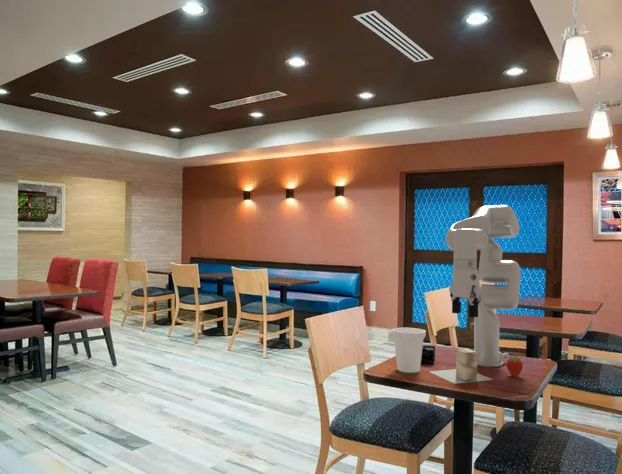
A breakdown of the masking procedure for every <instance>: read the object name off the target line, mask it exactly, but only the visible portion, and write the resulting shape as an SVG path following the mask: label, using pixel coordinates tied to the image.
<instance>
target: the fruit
mask: <svg viewBox="0 0 622 474" xmlns="http://www.w3.org/2000/svg"><path fill="white" fill-rule="evenodd" d="M508 358H509V359H508V360H507V361H506V369H507V370H508V372H509V373H510V375H511V376H512V377H515V378H516V377H519V376H520V374H521V373H522V370H523V367H524V365H523V364H524V363H523V361H522V360H521V359H522V356H520V357H518V356H516V355H514V357H513V356H511V355H509V357H508Z"/></svg>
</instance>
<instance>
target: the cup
mask: <svg viewBox="0 0 622 474" xmlns="http://www.w3.org/2000/svg"><path fill="white" fill-rule="evenodd" d="M391 329H392V330H391V331H392V332H391V335H392V336H393V340H394V349H395V350H394V351H395V358H396V368H397V371H399V372H400V373H404V374H416V373H420V372H421V366H422V365H421V356H422V348H423V346H424V339H425V338H426V335H427V334H426V333H427V331H426V329H422V328H416V327H394V328H391Z"/></svg>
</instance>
